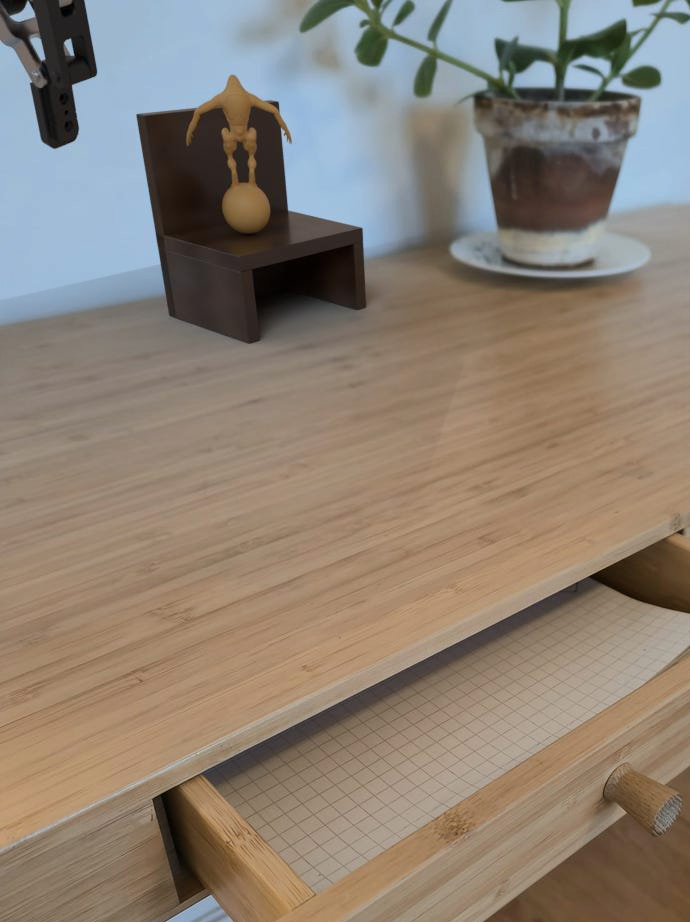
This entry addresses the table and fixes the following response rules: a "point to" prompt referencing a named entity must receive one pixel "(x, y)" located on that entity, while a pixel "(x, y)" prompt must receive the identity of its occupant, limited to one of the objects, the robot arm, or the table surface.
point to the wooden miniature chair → (219, 245)
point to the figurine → (245, 200)
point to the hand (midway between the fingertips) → (11, 114)
